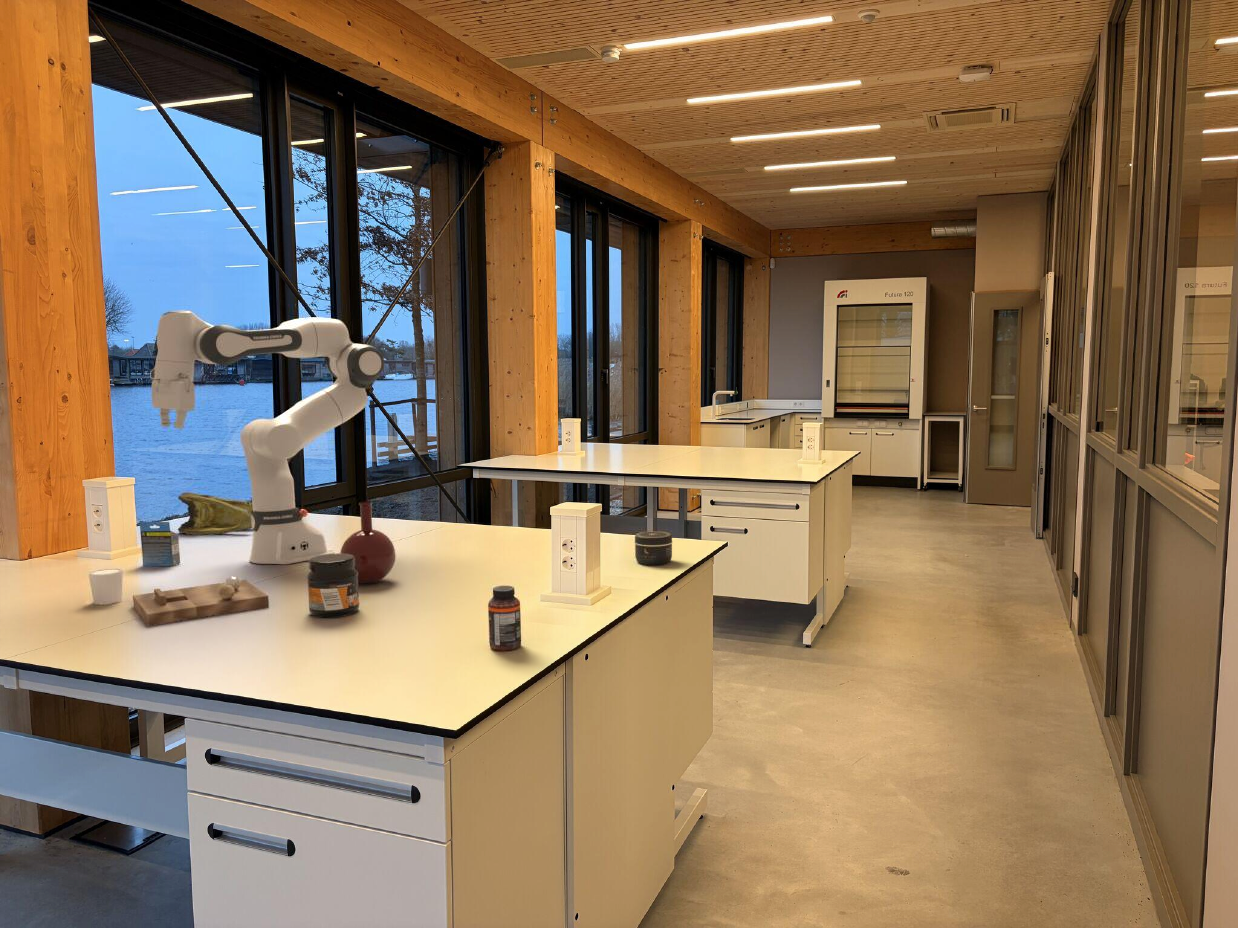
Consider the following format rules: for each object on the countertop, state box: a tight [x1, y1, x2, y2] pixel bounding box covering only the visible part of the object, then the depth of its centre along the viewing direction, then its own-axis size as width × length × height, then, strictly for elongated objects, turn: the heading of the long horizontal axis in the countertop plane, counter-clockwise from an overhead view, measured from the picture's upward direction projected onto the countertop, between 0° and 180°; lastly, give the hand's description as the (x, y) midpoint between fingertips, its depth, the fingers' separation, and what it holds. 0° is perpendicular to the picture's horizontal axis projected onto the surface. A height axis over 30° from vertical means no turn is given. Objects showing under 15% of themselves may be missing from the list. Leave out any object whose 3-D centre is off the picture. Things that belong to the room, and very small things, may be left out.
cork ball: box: [219, 585, 235, 600], centre depth 196 cm, size 3×3×3 cm
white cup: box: [88, 568, 124, 606], centre depth 206 cm, size 7×7×7 cm
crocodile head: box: [177, 492, 253, 535], centre depth 294 cm, size 27×17×15 cm
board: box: [132, 579, 270, 627], centre depth 200 cm, size 24×20×4 cm
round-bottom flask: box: [339, 500, 397, 584], centre depth 220 cm, size 13×13×20 cm
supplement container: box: [306, 553, 360, 619], centre depth 193 cm, size 10×10×12 cm
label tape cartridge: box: [139, 521, 181, 567], centre depth 244 cm, size 9×4×12 cm, turn 84°
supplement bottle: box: [487, 585, 522, 652], centre depth 167 cm, size 6×6×11 cm
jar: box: [634, 530, 673, 567], centre depth 238 cm, size 10×10×8 cm
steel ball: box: [225, 576, 241, 590], centre depth 204 cm, size 3×3×3 cm
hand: (172, 427), depth 230 cm, fingers open, 8 cm apart
